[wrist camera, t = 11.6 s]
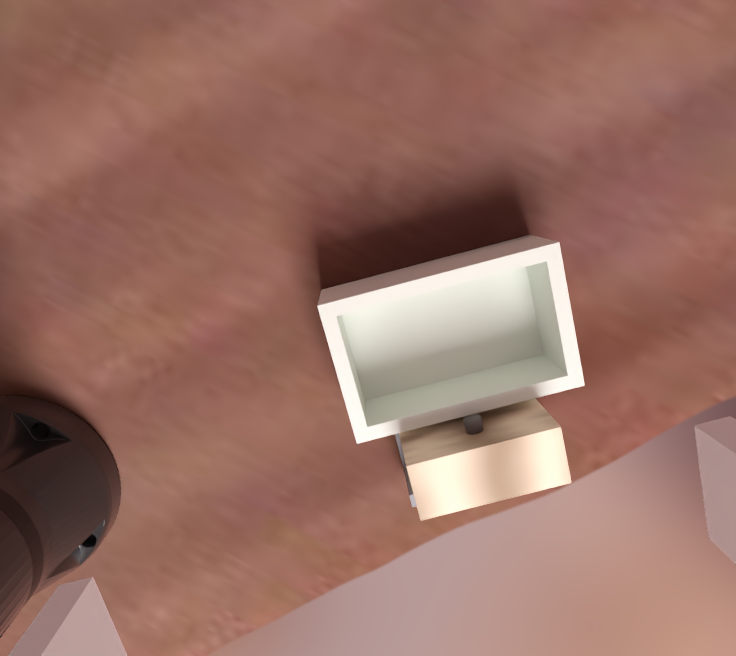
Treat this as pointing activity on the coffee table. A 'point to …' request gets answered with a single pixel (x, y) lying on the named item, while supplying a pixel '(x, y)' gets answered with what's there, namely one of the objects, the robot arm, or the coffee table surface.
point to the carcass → (452, 337)
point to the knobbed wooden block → (484, 458)
